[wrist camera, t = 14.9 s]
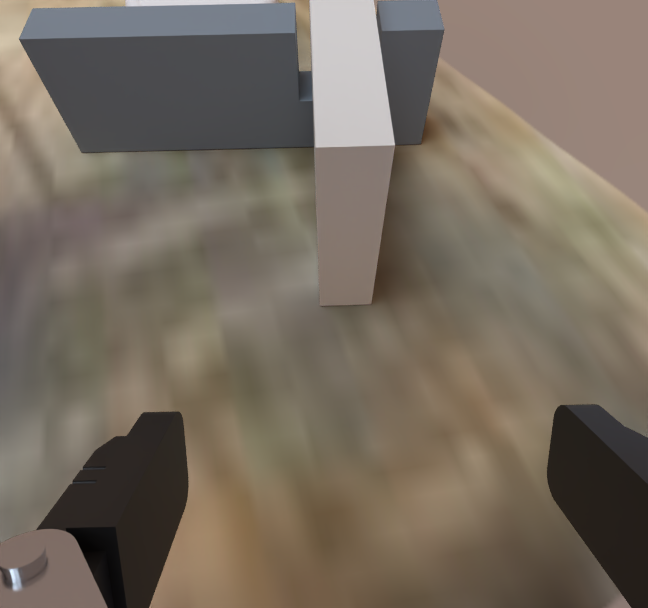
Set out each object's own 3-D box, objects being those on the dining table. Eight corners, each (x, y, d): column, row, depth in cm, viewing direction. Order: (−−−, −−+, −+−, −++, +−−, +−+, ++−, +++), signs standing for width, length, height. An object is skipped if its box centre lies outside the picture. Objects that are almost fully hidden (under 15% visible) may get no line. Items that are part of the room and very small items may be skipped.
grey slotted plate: (81, 152, 30) (18, 39, 24) (90, 123, 31) (32, 8, 25) (420, 144, 30) (444, 29, 24) (415, 115, 31) (436, -1, 25)
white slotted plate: (371, 304, 25) (395, 145, 16) (319, 306, 25) (315, 147, 16) (350, 88, 33) (359, -96, 24) (312, 89, 33) (306, -94, 24)
